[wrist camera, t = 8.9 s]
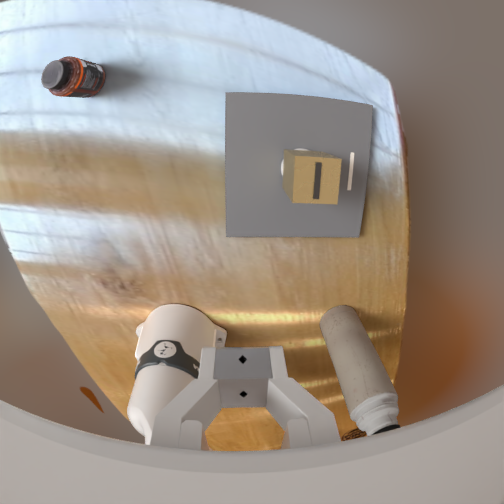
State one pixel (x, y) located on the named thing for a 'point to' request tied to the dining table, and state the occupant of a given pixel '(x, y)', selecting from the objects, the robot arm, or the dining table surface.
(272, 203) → the stud plate
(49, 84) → the supplement bottle
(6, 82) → the dining table surface
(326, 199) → the brushed gold block
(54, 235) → the dining table surface
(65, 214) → the dining table surface
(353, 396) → the thermos bottle
